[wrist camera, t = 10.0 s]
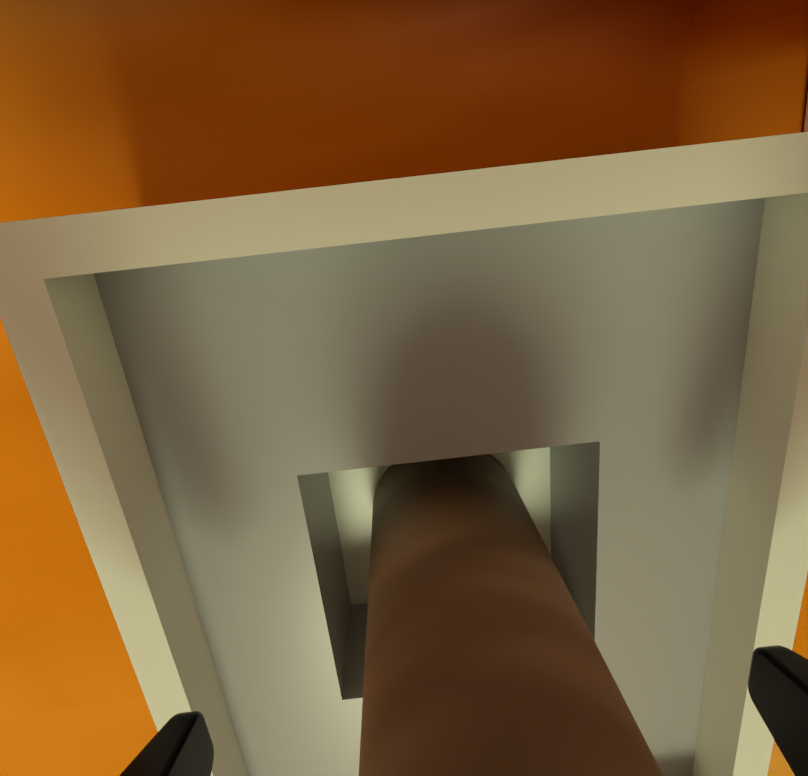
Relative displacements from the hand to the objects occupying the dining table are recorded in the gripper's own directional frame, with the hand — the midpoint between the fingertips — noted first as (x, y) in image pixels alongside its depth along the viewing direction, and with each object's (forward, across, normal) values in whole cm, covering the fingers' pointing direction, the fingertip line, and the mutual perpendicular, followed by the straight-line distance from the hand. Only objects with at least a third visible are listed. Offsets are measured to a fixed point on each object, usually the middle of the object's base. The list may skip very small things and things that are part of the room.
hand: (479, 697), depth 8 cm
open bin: (+6, 0, 0) cm, 6 cm away
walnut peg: (+6, 0, 0) cm, 6 cm away
